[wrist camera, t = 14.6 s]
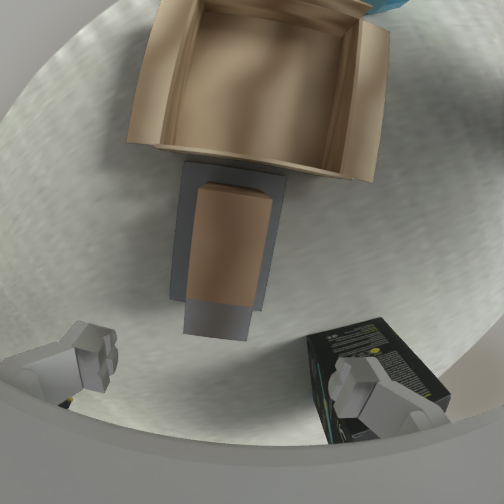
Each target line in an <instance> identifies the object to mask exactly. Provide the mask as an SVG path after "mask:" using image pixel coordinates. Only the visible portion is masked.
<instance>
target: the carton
mask: <svg viewBox="0 0 504 504" xmlns="http://www.w3.org/2000/svg"><path fill="white" fill-rule="evenodd" d="M371 8H372V5H370V4H367V3H365V2H362V1H360V0H161V3H160V6H159V9H158V11H157V14H156V17H155V21H154V24H153V27H152V30H151V33H150V37H149V40H148V43H147V47H146V51H145V54H144V58H143V62H142V66H141V70H140V74H139V78H138V82H137V87H136V91H135V96H134V101H133V106H132V111H131V116H130V122H129V128H128V134H127V140H126V143H137V144H150V145H154V147H155V148H159V149H160V150H165V151H170V152H177V153H186V154H195V155H203V156H210V157H218V158H225V159H232V160H238V161H245V162H251V163H257V164H263V165H269V166H274V167H280V168H285V169H290V170H295V171H300V172H305V173H310V174H315V175H319V176H325V177H331V178H337V179H348V180H352V178H355V179H359V180H363V181H367V182H371V183H373V178H374V173H375V167H376V161H377V155H378V149H379V143H380V136H381V129H382V121H383V113H384V105H385V96H386V85H387V74H388V60H389V42H390V32H389V31H387V30H385V29H383V28H380V27H378V26H375V25H373V24H370V23H368V22H365V21H363V18H361V17H362V16H363V15H364V14H366V13H367V12H368V11H369V10H370V9H371Z"/></svg>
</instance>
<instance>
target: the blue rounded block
mask: <svg viewBox="0 0 504 504" xmlns="http://www.w3.org/2000/svg"><path fill="white" fill-rule="evenodd" d="M360 1H362V2H365V3H367V4H370V5H372V8H371V9H370V10H369V11H368V12H367V13H368V14H374V13H378V12H382V11H386V10H390V9H395V8H399V7H401V6H402V5H404V4H405V3H406V2H408V1H409V0H360Z"/></svg>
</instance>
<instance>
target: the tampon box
mask: <svg viewBox="0 0 504 504" xmlns="http://www.w3.org/2000/svg"><path fill="white" fill-rule="evenodd" d="M307 345H308V354H309V364H310V373H311V383H312V391H313V400H314V403H315V406H316V409H317V411H318V414H319V417H320V420H321V423H322V426H323V429H324V432H325V435H326V438H327V441H328V444H341V443H351V442H359V441H367V440H374V439H381V438H380V437H379V436H377V435H376V434H375V433H374V432H373V431H372V430H371V429H370V428H368V427H367V426H366V425H365V424H364V423H363V422H362V421H361V420H359V419H358V418H359V417H356V418H338V416H337V414H336V411H335V409H334V404H335V401H334V400H333V399H331V398H330V395H329V391H328V385H329V380H330V377H331V375H332V374H333V373H334V372H335V371H337V370H336V367H335V364H336V362H337V360H338V359H339V357H375V358H377V359H378V361H379V362H380V364H381V365H382V367H383V368H384V370H385V371H386V373H387V374H388V376H389V377H390V379H391V380H392V381H396V382H398V383H399V384H401V385H403V386H405V387H406V388H408V389H410V390H412V391H413V392H415V393H417V394H419V395H420V396H422V397H424V398H426V399H428V400H429V401H431V402H433V403H435V404H437V405H438V406H440V407H441V409H442V410H443V412H444V413H445V412H446V409H447V407H448V404H449V401H450V399H451V394H450V392H449V391H448V390H447V389H446V388H445V387H444V385H443V384H442V383H441V382H440V381H439V380H438V379H437V377H436V376H435V375H434V374H433V373H432V372H431V371H430V370H429V369H428V367H427V366H426V365H425V364H424V363H423V362H422V361H421V360H420V359H419V358H418V357H417V355H416V354H415V353H414V352H413V351H412V350H411V349H410V348H409V347H408V346H407V345H406V343H405V342H404V341H403V340H402V339H401V338H400V337H399V336H398V335H397V334H396V333H395V331H394V330H393V329H392V328H391V327H390V326H389V325H388V324H387V323H386V322H385V321H384V319H383V318H377V319H374V320H370V321H367V322H363V323H359V324H355V325H351V326H347V327H343V328H339V329H335V330H331V331H327V332H323V333H318V334H314V335H309V336H307Z"/></svg>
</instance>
